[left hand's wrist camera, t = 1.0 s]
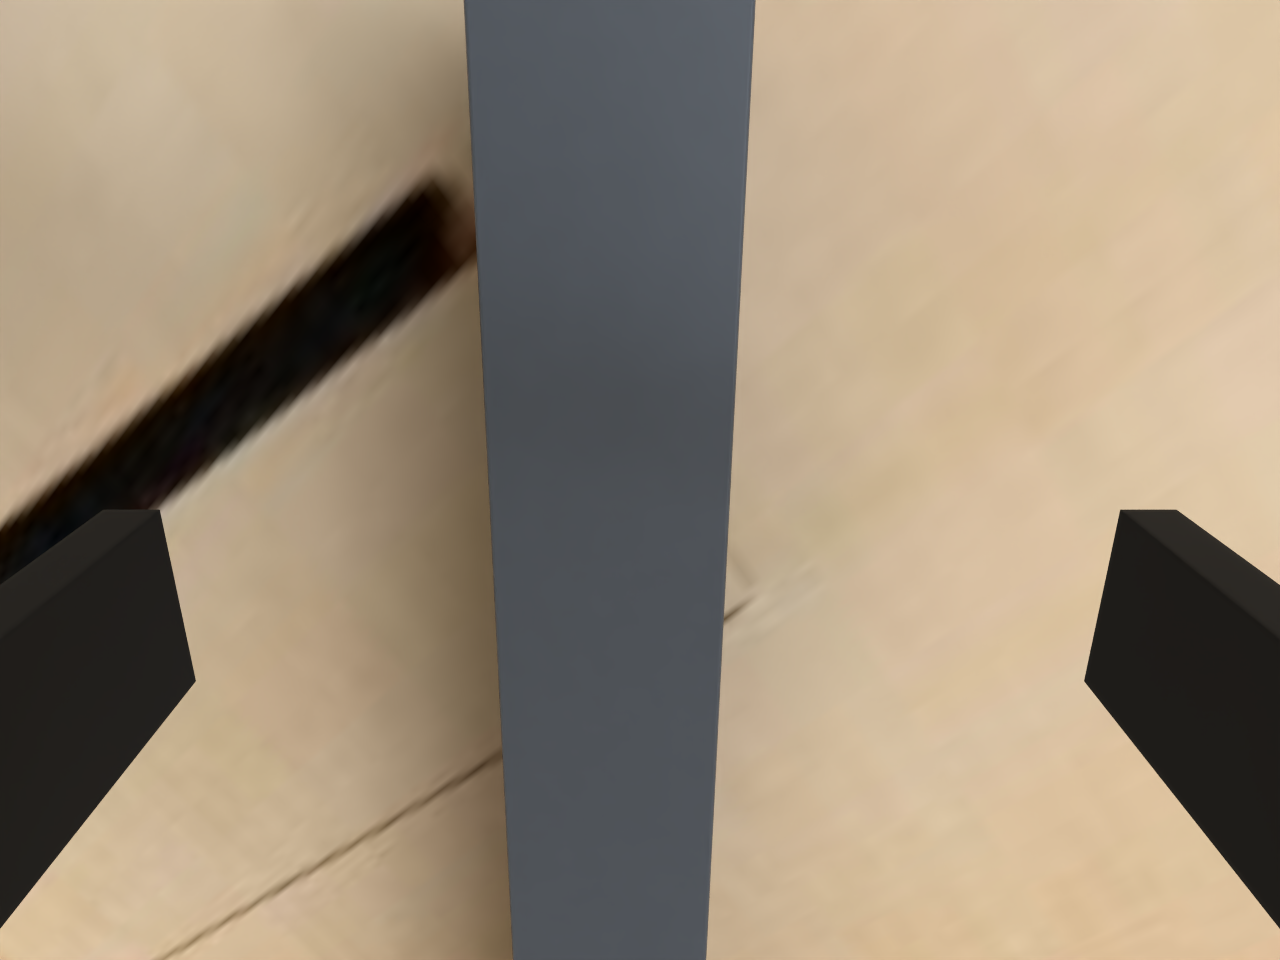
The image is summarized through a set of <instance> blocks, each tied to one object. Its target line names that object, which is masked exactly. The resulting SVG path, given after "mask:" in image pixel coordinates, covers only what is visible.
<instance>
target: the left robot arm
mask: <svg viewBox="0 0 1280 960" xmlns="http://www.w3.org/2000/svg"><path fill="white" fill-rule="evenodd" d="M195 681H196V680H195V675H194V670H193V665H192V661H191V656H190V651H189V647H188V642H187V637H186V632H185V628H184V623H183V618H182V613H181V609H180V604H179V599H178V594H177V590H176V585H175V580H174V575H173V571H172V566H171V561H170V557H169V552H168V547H167V542H166V538H165V533H164V528H163V523H162V519H161V514H160V510H103V511H101V512H100V513H98V514H97V515H96V516H94V517H93V518H92V519H90V520H89V521H87V522H86V523H85V524H83V525H82V526H81V527H79V528H78V529H76V530H75V531H74V532H72V533H71V534H70V535H68V536H67V537H65V538H64V539H63V540H61V541H60V542H59V543H57V544H56V545H55V546H53V547H52V548H50V549H49V550H48V551H46V552H45V553H44V554H42V555H41V556H39V557H38V558H37V559H35V560H34V561H33V562H31V563H30V564H28V565H27V566H26V567H24V568H23V569H22V570H20V571H19V572H17V573H16V574H15V575H13V576H12V577H11V578H9V579H8V580H6V581H5V582H4V583H2V584H1V585H0V928H1V927H2V926H3V924H4V923H5V922H6V921H7V919H8V918H9V917H10V916H11V914H12V913H13V912H14V910H15V909H16V908H17V907H18V905H19V904H20V903H21V902H22V900H23V899H24V898H25V897H26V895H27V894H28V893H29V891H30V890H31V889H32V888H33V886H34V885H35V884H36V883H37V881H38V880H39V879H40V878H41V876H42V875H43V874H44V873H45V871H46V870H47V869H48V867H49V866H50V865H51V864H52V862H53V861H54V860H55V859H56V857H57V856H58V855H59V854H60V852H61V851H62V850H63V848H64V847H65V846H66V845H67V843H68V842H69V841H70V840H71V838H72V837H73V836H74V835H75V833H76V832H77V831H78V829H79V828H80V827H81V826H82V824H83V823H84V822H85V821H86V819H87V818H88V817H89V816H90V814H91V813H92V812H93V811H94V809H95V808H96V807H97V805H98V804H99V803H100V802H101V800H102V799H103V798H104V797H105V795H106V794H107V793H108V792H109V790H110V789H111V788H112V786H113V785H114V784H115V783H116V781H117V780H118V779H119V778H120V776H121V775H122V774H123V773H124V771H125V770H126V769H127V767H128V766H129V765H130V764H131V762H132V761H133V760H134V759H135V757H136V756H137V755H138V754H139V752H140V751H141V750H142V749H143V747H144V746H145V745H146V743H147V742H148V741H149V740H150V738H151V737H152V736H153V735H154V733H155V732H156V731H157V730H158V728H159V727H160V726H161V724H162V723H163V722H164V721H165V719H166V718H167V717H168V716H169V714H170V713H171V712H172V711H173V709H174V708H175V707H176V705H177V704H178V703H179V702H180V700H181V699H182V698H183V697H184V695H185V694H186V693H187V692H188V690H189V689H190V688H191V687H192V685H193V684H194V683H195ZM1084 681H1085V683H1086V684H1087V685H1088V687H1089V688H1090V689H1091V690H1092V692H1093V693H1094V694H1095V695H1096V697H1097V698H1098V699H1099V700H1100V702H1101V703H1102V704H1103V705H1104V707H1105V708H1106V709H1107V711H1108V712H1109V713H1110V714H1111V716H1112V717H1113V718H1114V719H1115V721H1116V722H1117V723H1118V724H1119V726H1120V727H1121V728H1122V730H1123V731H1124V732H1125V733H1126V735H1127V736H1128V737H1129V738H1130V740H1131V741H1132V742H1133V743H1134V745H1135V746H1136V747H1137V749H1138V750H1139V751H1140V752H1141V754H1142V755H1143V756H1144V757H1145V759H1146V760H1147V761H1148V762H1149V764H1150V765H1151V766H1152V767H1153V769H1154V770H1155V771H1156V773H1157V774H1158V775H1159V776H1160V778H1161V779H1162V780H1163V781H1164V783H1165V784H1166V785H1167V786H1168V788H1169V789H1170V790H1171V792H1172V793H1173V794H1174V795H1175V797H1176V798H1177V799H1178V800H1179V802H1180V803H1181V804H1182V805H1183V807H1184V808H1185V809H1186V811H1187V812H1188V813H1189V814H1190V816H1191V817H1192V818H1193V819H1194V821H1195V822H1196V823H1197V824H1198V826H1199V827H1200V828H1201V829H1202V831H1203V832H1204V833H1205V835H1206V836H1207V837H1208V838H1209V840H1210V841H1211V842H1212V843H1213V845H1214V846H1215V847H1216V848H1217V850H1218V851H1219V852H1220V854H1221V855H1222V856H1223V857H1224V859H1225V860H1226V861H1227V862H1228V864H1229V865H1230V866H1231V867H1232V869H1233V870H1234V871H1235V873H1236V874H1237V875H1238V876H1239V878H1240V879H1241V880H1242V881H1243V883H1244V884H1245V885H1246V886H1247V888H1248V889H1249V890H1250V891H1251V893H1252V894H1253V895H1254V897H1255V898H1256V899H1257V900H1258V902H1259V903H1260V904H1261V905H1262V907H1263V908H1264V909H1265V910H1266V912H1267V913H1268V914H1269V916H1270V917H1271V918H1272V919H1273V921H1274V922H1275V923H1276V924H1277V926H1278V927H1279V928H1280V585H1279V584H1278V583H1276V582H1275V581H1274V580H1272V579H1271V578H1269V577H1268V576H1267V575H1265V574H1264V573H1263V572H1261V571H1260V570H1258V569H1257V568H1256V567H1254V566H1253V565H1252V564H1250V563H1249V562H1247V561H1246V560H1245V559H1243V558H1242V557H1241V556H1239V555H1238V554H1236V553H1235V552H1234V551H1232V550H1231V549H1230V548H1228V547H1227V546H1225V545H1224V544H1223V543H1221V542H1220V541H1219V540H1217V539H1216V538H1215V537H1213V536H1212V535H1210V534H1209V533H1208V532H1206V531H1205V530H1204V529H1202V528H1201V527H1199V526H1198V525H1197V524H1195V523H1194V522H1193V521H1191V520H1190V519H1188V518H1187V517H1186V516H1184V515H1183V514H1182V513H1180V512H1179V511H1177V510H1120V514H1119V519H1118V523H1117V528H1116V533H1115V538H1114V542H1113V547H1112V552H1111V557H1110V561H1109V566H1108V571H1107V575H1106V580H1105V585H1104V590H1103V594H1102V599H1101V604H1100V609H1099V613H1098V618H1097V623H1096V628H1095V632H1094V637H1093V642H1092V646H1091V651H1090V656H1089V661H1088V665H1087V670H1086V675H1085V680H1084Z"/></svg>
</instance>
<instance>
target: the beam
mask: <svg viewBox="0 0 1280 960" xmlns="http://www.w3.org/2000/svg"><path fill="white" fill-rule="evenodd" d="M464 14H465V33H466V53H467V72H468V92H469V111H470V131H471V150H472V170H473V189H474V209H475V228H476V247H477V267H478V286H479V306H480V325H481V345H482V364H483V384H484V403H485V423H486V442H487V462H488V481H489V501H490V520H491V540H492V559H493V579H494V598H495V618H496V637H497V657H498V676H499V696H500V715H501V735H502V754H503V773H504V793H505V812H506V832H507V851H508V871H509V890H510V910H511V929H512V949H513V960H706V951H707V932H708V912H709V893H710V874H711V854H712V835H713V815H714V796H715V777H716V757H717V738H718V718H719V699H720V679H721V660H722V641H723V621H724V602H725V582H726V563H727V544H728V524H729V505H730V485H731V466H732V446H733V427H734V408H735V388H736V369H737V349H738V330H739V311H740V291H741V272H742V252H743V233H744V214H745V194H746V175H747V155H748V136H749V116H750V97H751V78H752V58H753V39H754V19H755V0H464Z"/></svg>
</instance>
